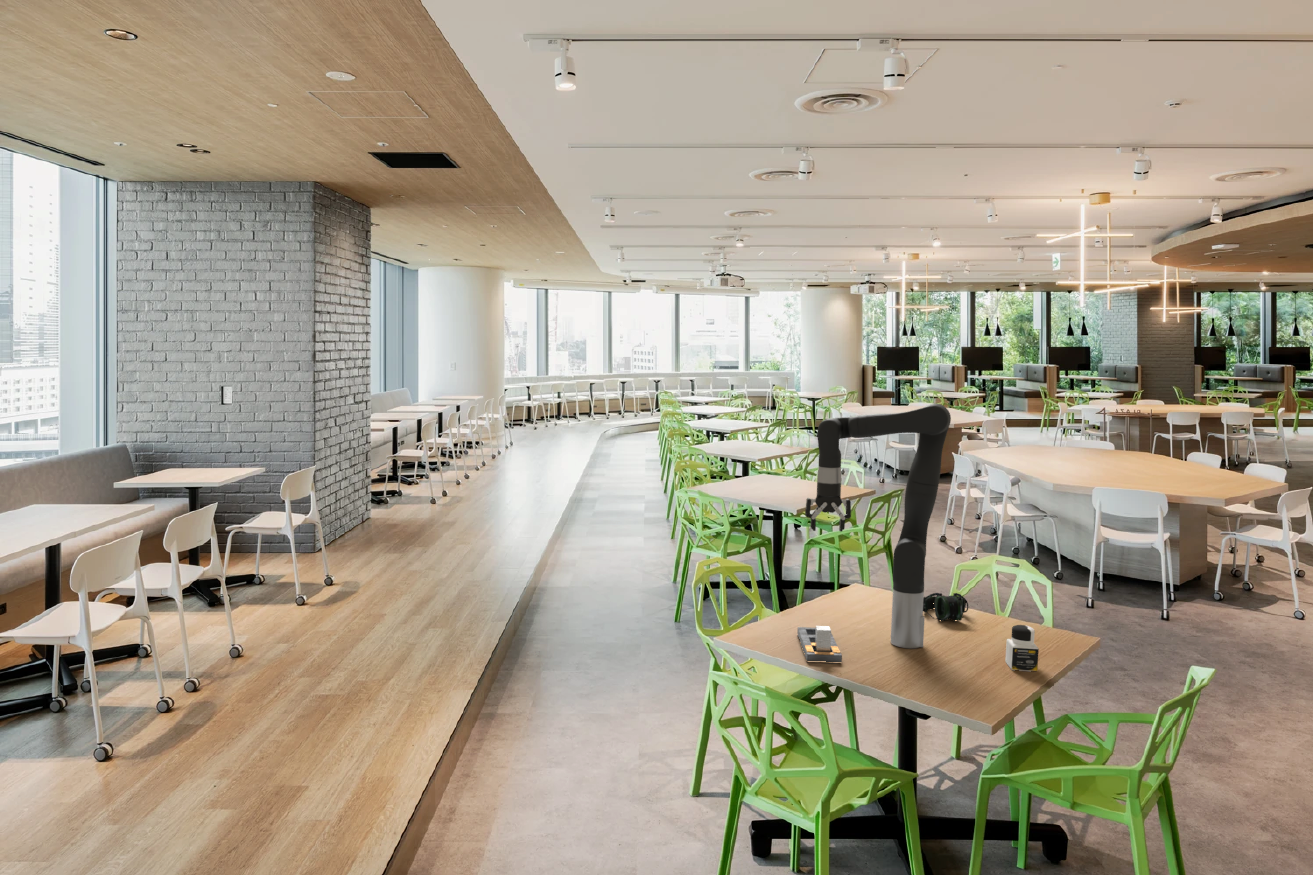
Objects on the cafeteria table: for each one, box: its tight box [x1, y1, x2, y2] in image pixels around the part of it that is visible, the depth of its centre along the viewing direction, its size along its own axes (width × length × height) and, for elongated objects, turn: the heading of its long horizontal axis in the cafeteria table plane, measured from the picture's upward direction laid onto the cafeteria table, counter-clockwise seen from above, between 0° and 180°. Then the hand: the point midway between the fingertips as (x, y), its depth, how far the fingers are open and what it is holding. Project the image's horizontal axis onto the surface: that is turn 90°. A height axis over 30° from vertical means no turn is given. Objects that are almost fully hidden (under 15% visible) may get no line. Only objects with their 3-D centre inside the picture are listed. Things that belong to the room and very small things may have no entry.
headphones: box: [923, 592, 969, 622], centre depth 295 cm, size 13×13×20 cm
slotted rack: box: [796, 626, 843, 662], centre depth 260 cm, size 10×25×3 cm, turn 177°
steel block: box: [815, 625, 832, 652], centre depth 252 cm, size 4×4×9 cm
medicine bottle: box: [1005, 624, 1040, 672], centre depth 247 cm, size 7×7×12 cm
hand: (827, 530), depth 274 cm, fingers open, 8 cm apart
